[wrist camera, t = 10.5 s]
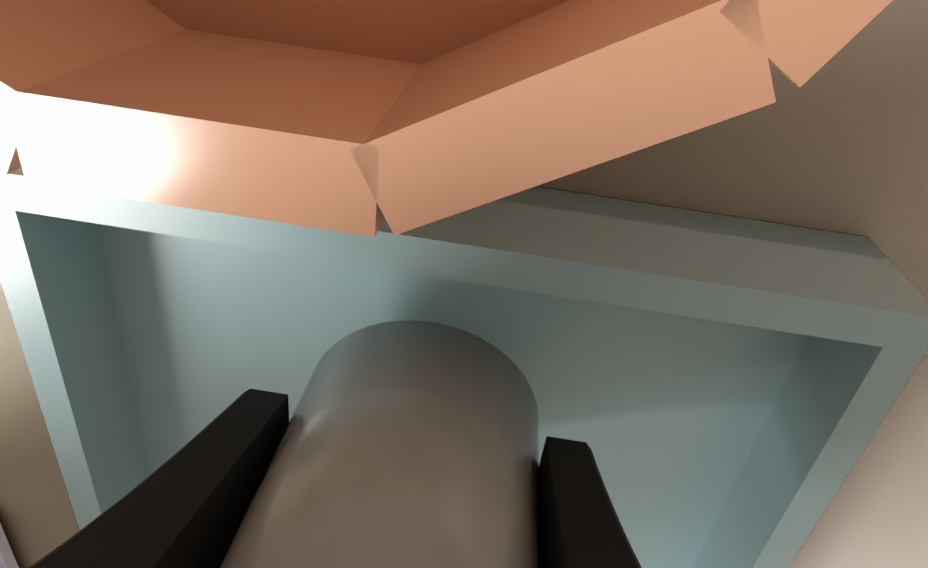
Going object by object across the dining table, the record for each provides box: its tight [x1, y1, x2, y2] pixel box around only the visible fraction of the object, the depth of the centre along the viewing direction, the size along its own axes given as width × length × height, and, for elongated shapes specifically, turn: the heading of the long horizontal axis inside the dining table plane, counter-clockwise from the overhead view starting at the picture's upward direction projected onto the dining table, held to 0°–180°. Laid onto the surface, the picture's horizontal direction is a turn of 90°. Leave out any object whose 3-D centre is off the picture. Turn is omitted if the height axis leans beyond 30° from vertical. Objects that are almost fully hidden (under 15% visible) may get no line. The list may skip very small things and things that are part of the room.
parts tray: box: [0, 167, 928, 568], centre depth 14 cm, size 14×14×2 cm
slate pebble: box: [220, 320, 539, 568], centre depth 9 cm, size 4×4×5 cm
